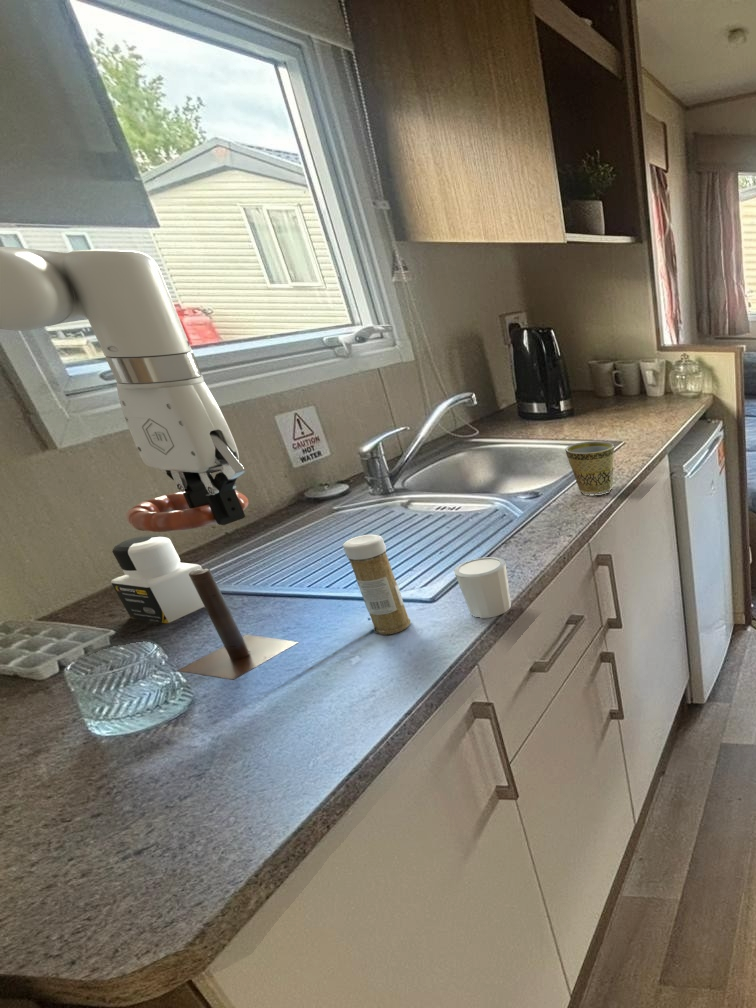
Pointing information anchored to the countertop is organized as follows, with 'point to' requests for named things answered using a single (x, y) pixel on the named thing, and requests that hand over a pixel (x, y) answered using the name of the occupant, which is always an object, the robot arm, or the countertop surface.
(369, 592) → the sprinkles bottle
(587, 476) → the ceramic cup
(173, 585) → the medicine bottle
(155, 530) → the ring
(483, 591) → the white tapered tub
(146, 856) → the countertop surface
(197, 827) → the countertop surface
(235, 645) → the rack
